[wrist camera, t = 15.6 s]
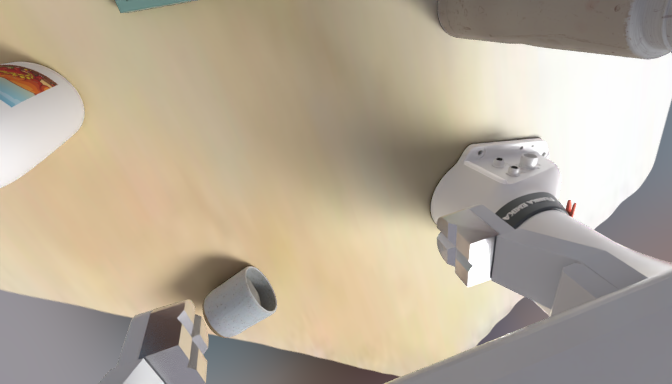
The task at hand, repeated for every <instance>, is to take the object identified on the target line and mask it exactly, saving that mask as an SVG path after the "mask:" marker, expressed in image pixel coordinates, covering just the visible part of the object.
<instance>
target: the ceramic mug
mask: <svg viewBox="0 0 672 384" xmlns="http://www.w3.org/2000/svg"><path fill="white" fill-rule="evenodd" d="M276 308H277V300H276V296H275V293H274V290H273V288H272V286H271V284H270V283H269V281H268V280H267V278H266V277H265V276H264V275H263V274H262V272H261V271H259V270H258V269H257V268H255V267H253V266H248V267H246V268H244V269H243V270H241V271H240V272H239V273H237V274H236V275H234V276H233V277H231V278H230V279H228V280H227V281H226V282H224V283H223V284H221V285H220V286H218V287H217V288H215V289H214V290H212V291H211V292H210V293H209V294H208V295H207V297H206V298H205V299H204V302H203V315H204V318H205V321H206V323H207V325H208V326H209V328H210V329H211V330H212V331H213V332H214V333H215V334H216V335H218V336H220V337H223V338H228V337H232V336H235V335H237V334H239V333H241V332H243V331H244V330H246V329H247V328H249V327H251V326H252V325H254V324H256V323H258V322H259V321H261V320H263V319H265V318H267V317H268V316H270V315H272V314H273V313H274V312H275V311H276Z"/></svg>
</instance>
